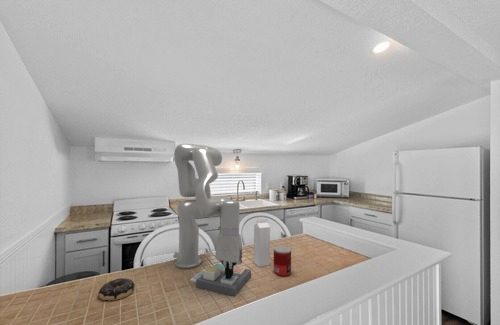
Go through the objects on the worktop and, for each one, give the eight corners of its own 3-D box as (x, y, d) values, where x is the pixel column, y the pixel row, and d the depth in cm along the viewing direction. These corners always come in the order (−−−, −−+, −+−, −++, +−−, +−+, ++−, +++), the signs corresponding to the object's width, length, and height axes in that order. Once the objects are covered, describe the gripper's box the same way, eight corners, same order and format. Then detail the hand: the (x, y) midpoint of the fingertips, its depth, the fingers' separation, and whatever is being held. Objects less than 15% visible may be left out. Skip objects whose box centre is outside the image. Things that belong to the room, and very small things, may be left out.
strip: (190, 281, 96) (190, 279, 96) (204, 270, 106) (204, 268, 106) (197, 282, 94) (197, 280, 94) (211, 271, 105) (211, 269, 105)
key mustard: (203, 278, 92) (203, 270, 92) (209, 273, 96) (209, 265, 96) (213, 281, 90) (214, 272, 90) (220, 275, 94) (220, 267, 95)
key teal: (213, 275, 99) (213, 267, 99) (218, 271, 104) (218, 263, 104) (223, 277, 97) (223, 269, 97) (228, 272, 102) (228, 265, 102)
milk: (253, 262, 115) (253, 219, 116) (264, 260, 118) (264, 218, 119) (259, 267, 110) (259, 221, 111) (270, 265, 113) (270, 220, 113)
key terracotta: (229, 279, 96) (229, 270, 96) (234, 274, 101) (234, 266, 101) (240, 281, 94) (240, 272, 94) (245, 276, 99) (245, 268, 99)
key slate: (220, 288, 89) (220, 279, 89) (226, 282, 93) (226, 273, 93) (231, 290, 87) (232, 281, 87) (237, 284, 91) (237, 276, 92)
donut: (111, 286, 91) (111, 276, 91) (140, 286, 91) (140, 276, 91) (91, 302, 80) (92, 290, 80) (124, 303, 80) (124, 291, 80)
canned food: (290, 277, 99) (291, 252, 100) (272, 276, 101) (272, 251, 101) (291, 270, 107) (291, 246, 107) (274, 268, 109) (274, 245, 109)
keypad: (195, 287, 90) (196, 279, 91) (217, 270, 106) (217, 263, 106) (234, 296, 84) (234, 288, 84) (250, 276, 100) (250, 269, 100)
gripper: (208, 231, 90) (207, 277, 90) (243, 235, 85) (242, 285, 84) (218, 226, 97) (217, 270, 97) (250, 230, 92) (249, 276, 91)
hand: (228, 277), depth 90 cm, fingers closed
